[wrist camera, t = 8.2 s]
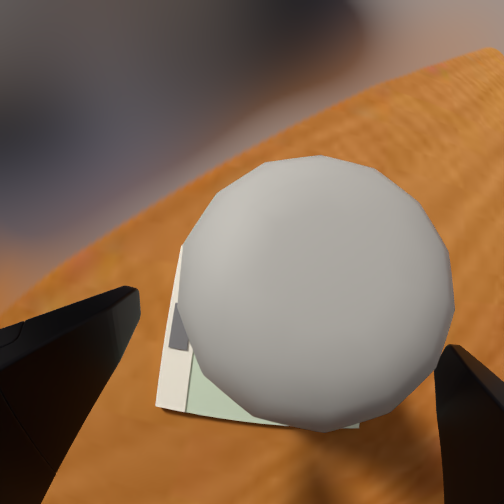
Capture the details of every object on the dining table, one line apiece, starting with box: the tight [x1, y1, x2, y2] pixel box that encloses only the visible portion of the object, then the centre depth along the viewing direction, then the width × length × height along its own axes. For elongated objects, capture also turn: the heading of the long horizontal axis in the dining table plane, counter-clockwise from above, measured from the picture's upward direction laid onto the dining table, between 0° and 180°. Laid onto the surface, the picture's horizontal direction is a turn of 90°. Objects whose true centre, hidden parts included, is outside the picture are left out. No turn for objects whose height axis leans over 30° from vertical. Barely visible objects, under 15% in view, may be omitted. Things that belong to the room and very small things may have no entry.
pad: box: [155, 245, 360, 428], centre depth 16 cm, size 9×11×1 cm
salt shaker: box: [177, 155, 455, 433], centre depth 10 cm, size 6×6×13 cm
